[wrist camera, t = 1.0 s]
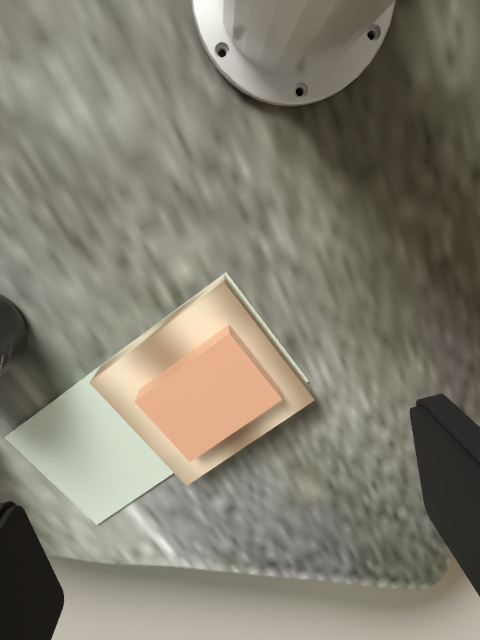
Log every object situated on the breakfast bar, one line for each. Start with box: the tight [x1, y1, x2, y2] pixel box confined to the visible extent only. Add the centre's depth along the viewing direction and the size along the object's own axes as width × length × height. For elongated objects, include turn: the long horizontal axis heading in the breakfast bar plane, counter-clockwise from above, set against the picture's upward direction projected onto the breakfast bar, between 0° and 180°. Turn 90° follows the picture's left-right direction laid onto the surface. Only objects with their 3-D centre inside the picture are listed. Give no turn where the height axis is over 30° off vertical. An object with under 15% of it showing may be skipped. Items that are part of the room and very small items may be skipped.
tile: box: [134, 325, 282, 462], centre depth 31 cm, size 8×6×2 cm
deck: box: [90, 275, 314, 486], centre depth 33 cm, size 12×11×3 cm
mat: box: [4, 272, 309, 525], centre depth 35 cm, size 22×11×1 cm, turn 126°
